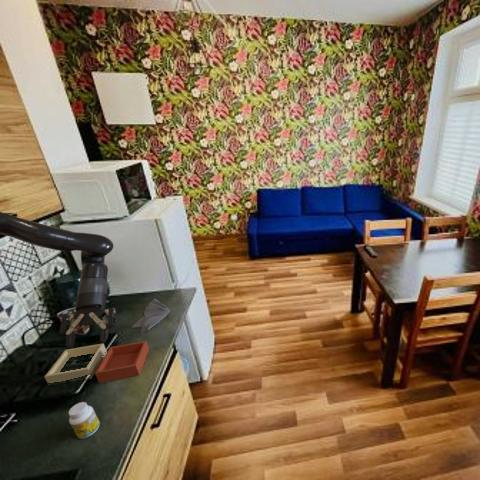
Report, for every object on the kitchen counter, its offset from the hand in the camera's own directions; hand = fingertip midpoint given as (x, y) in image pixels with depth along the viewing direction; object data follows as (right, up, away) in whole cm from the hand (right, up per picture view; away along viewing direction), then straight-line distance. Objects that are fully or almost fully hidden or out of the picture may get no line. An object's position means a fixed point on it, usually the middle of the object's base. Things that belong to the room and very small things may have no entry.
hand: (86, 344), depth 83 cm
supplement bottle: (+3, -25, -3) cm, 25 cm away
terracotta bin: (-1, -15, +19) cm, 24 cm away
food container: (-34, -8, +37) cm, 51 cm away
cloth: (-8, -4, +47) cm, 48 cm away
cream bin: (-18, -16, +17) cm, 29 cm away
